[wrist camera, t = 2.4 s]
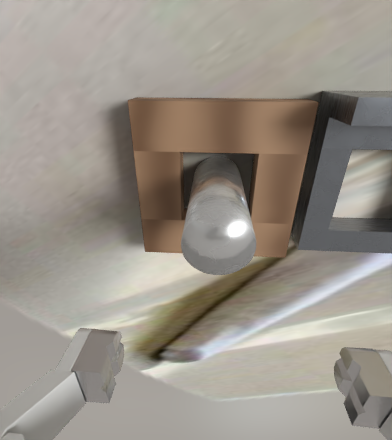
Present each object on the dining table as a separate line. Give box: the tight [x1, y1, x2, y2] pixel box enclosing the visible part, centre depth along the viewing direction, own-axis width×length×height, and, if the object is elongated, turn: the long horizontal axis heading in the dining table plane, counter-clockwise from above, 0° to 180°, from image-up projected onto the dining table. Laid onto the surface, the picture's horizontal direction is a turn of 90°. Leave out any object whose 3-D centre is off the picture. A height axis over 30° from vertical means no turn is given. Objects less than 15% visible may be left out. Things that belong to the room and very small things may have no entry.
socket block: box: [128, 98, 319, 257], centre depth 24 cm, size 14×14×2 cm
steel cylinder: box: [181, 156, 256, 275], centre depth 20 cm, size 4×4×11 cm
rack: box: [291, 91, 392, 253], centre depth 21 cm, size 12×14×6 cm
